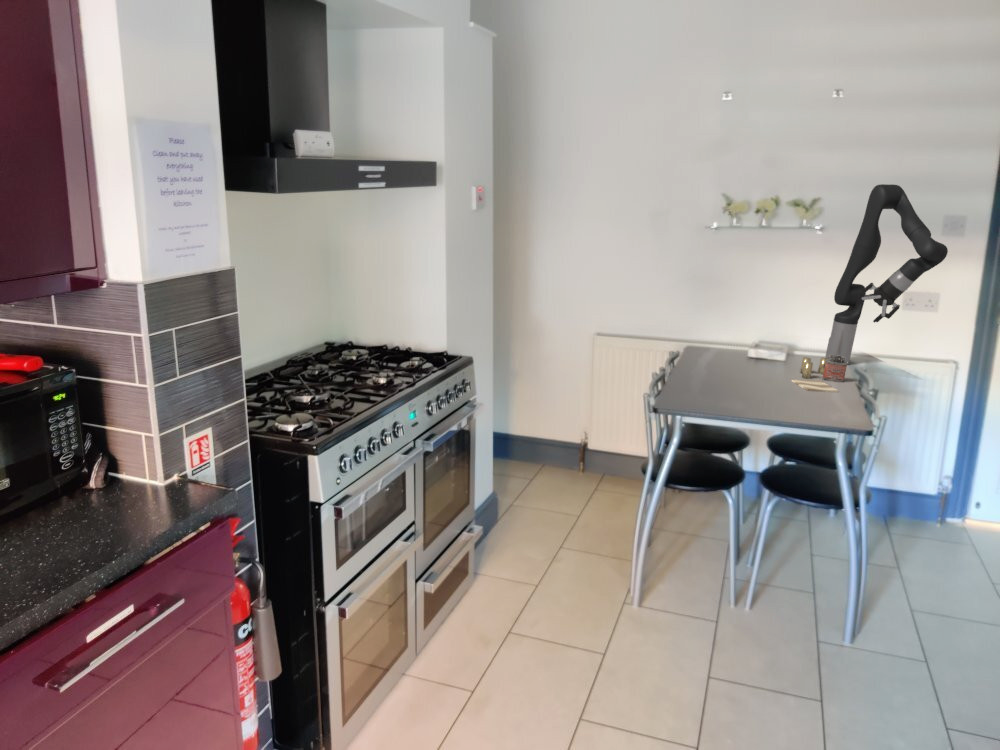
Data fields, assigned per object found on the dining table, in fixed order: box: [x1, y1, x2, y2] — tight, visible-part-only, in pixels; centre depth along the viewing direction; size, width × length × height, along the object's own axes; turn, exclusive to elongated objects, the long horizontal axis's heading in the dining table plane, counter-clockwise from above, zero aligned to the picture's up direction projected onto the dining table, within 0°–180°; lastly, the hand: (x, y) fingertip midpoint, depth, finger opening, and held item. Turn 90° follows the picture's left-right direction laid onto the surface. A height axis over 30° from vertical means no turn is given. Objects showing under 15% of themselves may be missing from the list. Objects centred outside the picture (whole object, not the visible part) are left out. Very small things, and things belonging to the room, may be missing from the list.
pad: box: [791, 379, 839, 393], centre depth 300 cm, size 12×12×1 cm
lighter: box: [821, 355, 849, 383], centre depth 310 cm, size 8×3×10 cm, turn 84°
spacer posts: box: [799, 356, 829, 380], centre depth 316 cm, size 11×14×6 cm
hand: (865, 314), depth 313 cm, fingers open, 8 cm apart
